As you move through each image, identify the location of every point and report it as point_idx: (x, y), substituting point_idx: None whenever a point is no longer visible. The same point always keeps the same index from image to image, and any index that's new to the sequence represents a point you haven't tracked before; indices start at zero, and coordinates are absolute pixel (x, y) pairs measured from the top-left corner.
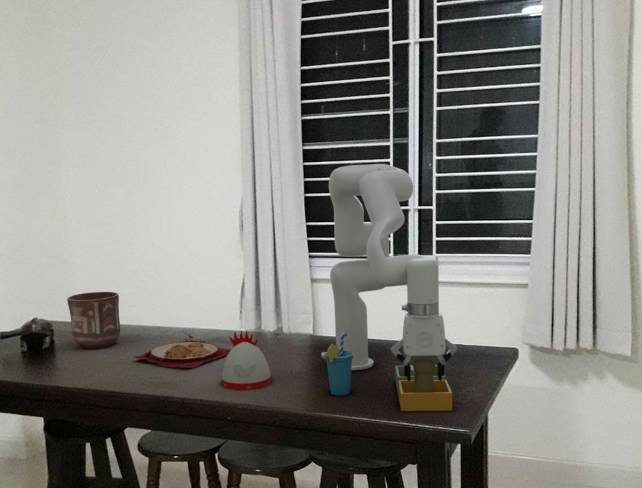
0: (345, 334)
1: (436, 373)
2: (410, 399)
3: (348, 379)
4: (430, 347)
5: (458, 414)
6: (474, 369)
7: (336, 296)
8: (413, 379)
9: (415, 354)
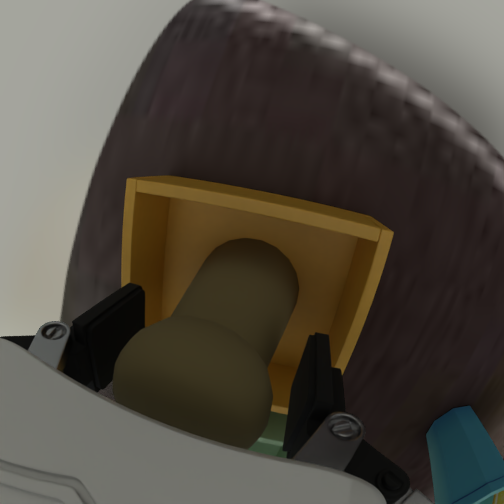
0: None
1: None
2: (339, 213)
3: (453, 445)
4: (13, 438)
5: (159, 132)
6: None
7: None
8: None
9: (251, 462)
